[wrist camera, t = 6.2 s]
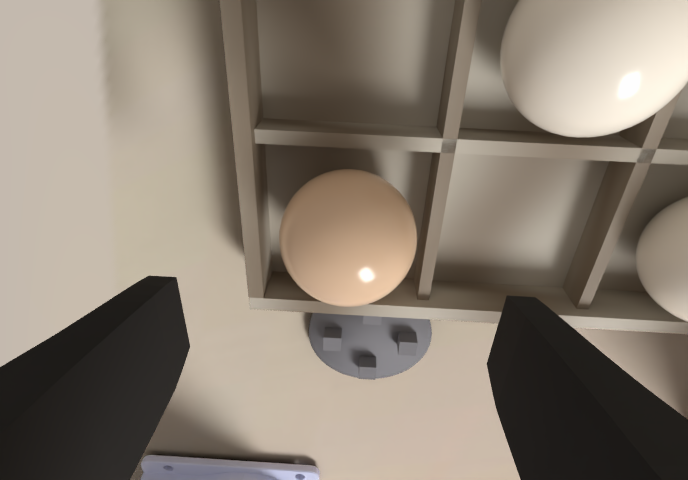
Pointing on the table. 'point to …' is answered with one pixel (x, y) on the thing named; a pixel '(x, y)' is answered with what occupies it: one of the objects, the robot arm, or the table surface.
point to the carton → (442, 161)
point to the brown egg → (348, 237)
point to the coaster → (369, 343)
